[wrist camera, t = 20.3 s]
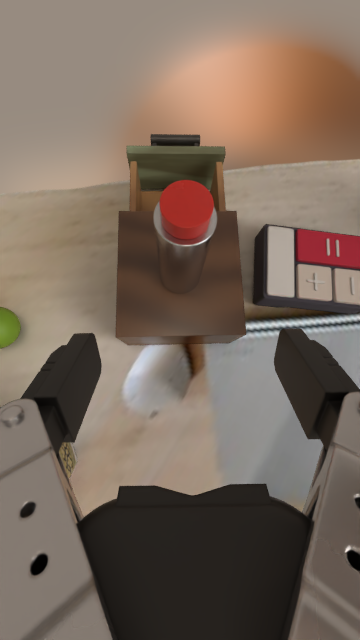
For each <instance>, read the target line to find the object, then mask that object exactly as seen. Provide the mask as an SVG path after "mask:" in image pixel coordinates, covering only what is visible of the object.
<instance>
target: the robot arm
mask: <svg viewBox="0 0 360 640" xmlns="http://www.w3.org/2000/svg"><path fill="white" fill-rule="evenodd" d="M274 366H275V370H276V373H277V375H278V377H279V379H280V381H281V383H282V386H283V388H284V390H285V392H286V394H287V396H288V398H289V400H290V402H291V405H292V407H293V409H294V411H295V413H296V415H297V417H298V419H299V421H300V423H301V426H302V428H303V430H304V432H305V434H306V436H307V438H308V439H321V441H322V443H323V447H322V450H321V453H320V456H319V460H318V463H317V466H316V470H315V473H314V477H313V480H312V484H311V487H310V490H309V494H308V497H307V500H306V502H305V505H304V508H303V510H302V512H300V511H299V510H297V509H296V508H294V507H293V506H291V505H289V504H287V503H285V502H284V501H281V500H279V499H276V498H274V497H270V496H269V493H268V489H267V485H266V484H230V485H227V486H223V487H220V488H217V489H214V490H211V491H208V492H205V493H201V494H198V495H193V496H191V495H187V494H183V493H180V492H176V491H173V490H169V489H165V488H162V487H158V486H119V491H118V497H117V499H114V500H111V501H109V502H107V503H105V504H103V505H101V506H99V507H98V508H96V509H94V510H93V511H92V512H90V513H89V514H88V515H86V516H85V517H84V516H83V514H82V511H81V509H80V507H79V504H78V502H77V499H76V497H75V494H74V491H73V488H72V486H71V483H70V480H69V477H68V475H67V472H66V469H65V467H64V464H63V461H62V458H61V456H60V453H59V450H60V448H61V445H62V443H70V442H75V439H76V437H77V434H78V431H79V429H80V426H81V424H82V421H83V418H84V416H85V413H86V411H87V408H88V405H89V403H90V400H91V398H92V395H93V393H94V390H95V387H96V385H97V382H98V380H99V377H100V374H101V359H100V355H99V351H98V347H97V342H96V338H95V335H94V334H93V333H80V334H74V335H73V336H72V338H71V339H70V341H69V342H68V344H67V345H62V346H61V347H59V348H58V349H57V350H55V351H54V352H53V353H52V354H51V355H50V357H49V358H48V360H47V361H46V364H44V365H43V367H42V368H41V371H40V372H38V374H37V375H36V377H35V378H34V380H33V381H32V383H31V384H30V385H29V387H28V388H27V390H26V391H25V393H24V394H23V396H22V397H21V398H20V399H18V400H14V401H11V402H9V403H7V404H5V405H3V406H2V407H0V640H360V389H359V388H358V387H357V386H356V384H355V383H354V382H353V381H352V379H351V378H350V377H349V376H348V375H347V373H346V372H345V371H344V370H343V368H342V367H341V366H339V364H338V362H337V361H336V360H335V359H334V358H333V356H332V355H331V354H330V353H329V351H328V350H327V349H326V348H325V347H324V346H322V345H321V344H319V343H318V342H316V341H315V340H310V339H309V338H308V337H307V335H306V334H305V333H304V332H303V330H302V329H282V330H281V331H280V333H279V338H278V343H277V348H276V352H275V357H274Z"/></svg>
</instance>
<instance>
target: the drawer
mask: <svg viewBox="0 0 360 640" xmlns="http://www.w3.org/2000/svg"><path fill="white" fill-rule="evenodd" d="M127 158H128V163H129V167H130V211H154V210H155V207H156V205H157V204H158V202H159V201H160V197H161V194H162V192H163V191H141V189H165V188H166V187H167V186H169V185H170V184H172V183H174V182H176V181H180V180H192V181H196V182H198V183H200V184H202V185H203V186H205V187H206V188H207V189H210V191H209V192H210V193H211V195H212V197H213V201H214V207H215V210H216V211H226V210H225V195H224V181H223V162H224V158H225V147H207V146H200V135H167V134H164V135H162V134H151V146H127Z"/></svg>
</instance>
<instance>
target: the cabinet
mask: <svg viewBox="0 0 360 640" xmlns="http://www.w3.org/2000/svg"><path fill="white" fill-rule="evenodd" d="M216 213H217V225H216V229H215V232H214V235H213V238H212V242H211V245H210V248H209V251H208V255H207V258H206V261H205V264H204V268H203V271H202V274H201V277H200V281H199V283H198V285H197V286H196V288H195V289H193V290H192V291H190V292H188V293H185V294H176V293H172V292H170V291H169V290H167V289H166V288H165V287H164V286H163V284H162V282H161V279H160V272H159V264H158V255H157V246H156V238H155V229H154V220H153V215H154V211H119V230H118V268H117V305H116V338H118V339H120V340H121V341H123V342H124V343H126V344H127V345H164V344H211V343H230V342H232V341H234V340H236V339H238V338H240V337H242V336H244V335H246V326H245V313H244V300H243V288H242V275H241V262H240V250H239V237H238V225H237V212H236V211H216Z"/></svg>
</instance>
